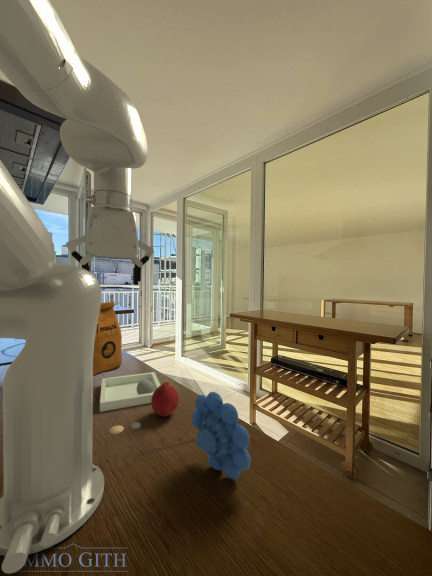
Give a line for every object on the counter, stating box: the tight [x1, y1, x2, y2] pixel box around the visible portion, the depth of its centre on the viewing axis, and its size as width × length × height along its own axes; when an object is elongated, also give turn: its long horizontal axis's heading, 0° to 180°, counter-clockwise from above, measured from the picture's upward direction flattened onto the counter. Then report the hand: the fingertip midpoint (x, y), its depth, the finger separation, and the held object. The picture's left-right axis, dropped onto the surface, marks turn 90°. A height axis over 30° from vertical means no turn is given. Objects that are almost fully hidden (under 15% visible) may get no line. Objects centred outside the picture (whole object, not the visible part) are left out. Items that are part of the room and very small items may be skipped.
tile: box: [108, 422, 142, 435], centre depth 48 cm, size 6×8×1 cm
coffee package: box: [93, 301, 123, 376], centre depth 78 cm, size 10×12×22 cm
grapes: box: [191, 391, 252, 480], centre depth 38 cm, size 12×7×12 cm, turn 49°
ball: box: [136, 379, 153, 395], centre depth 61 cm, size 4×4×4 cm
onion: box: [150, 379, 180, 418], centre depth 53 cm, size 6×6×8 cm
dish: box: [99, 371, 162, 413], centre depth 62 cm, size 14×14×2 cm
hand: (112, 284), depth 53 cm, fingers open, 9 cm apart
